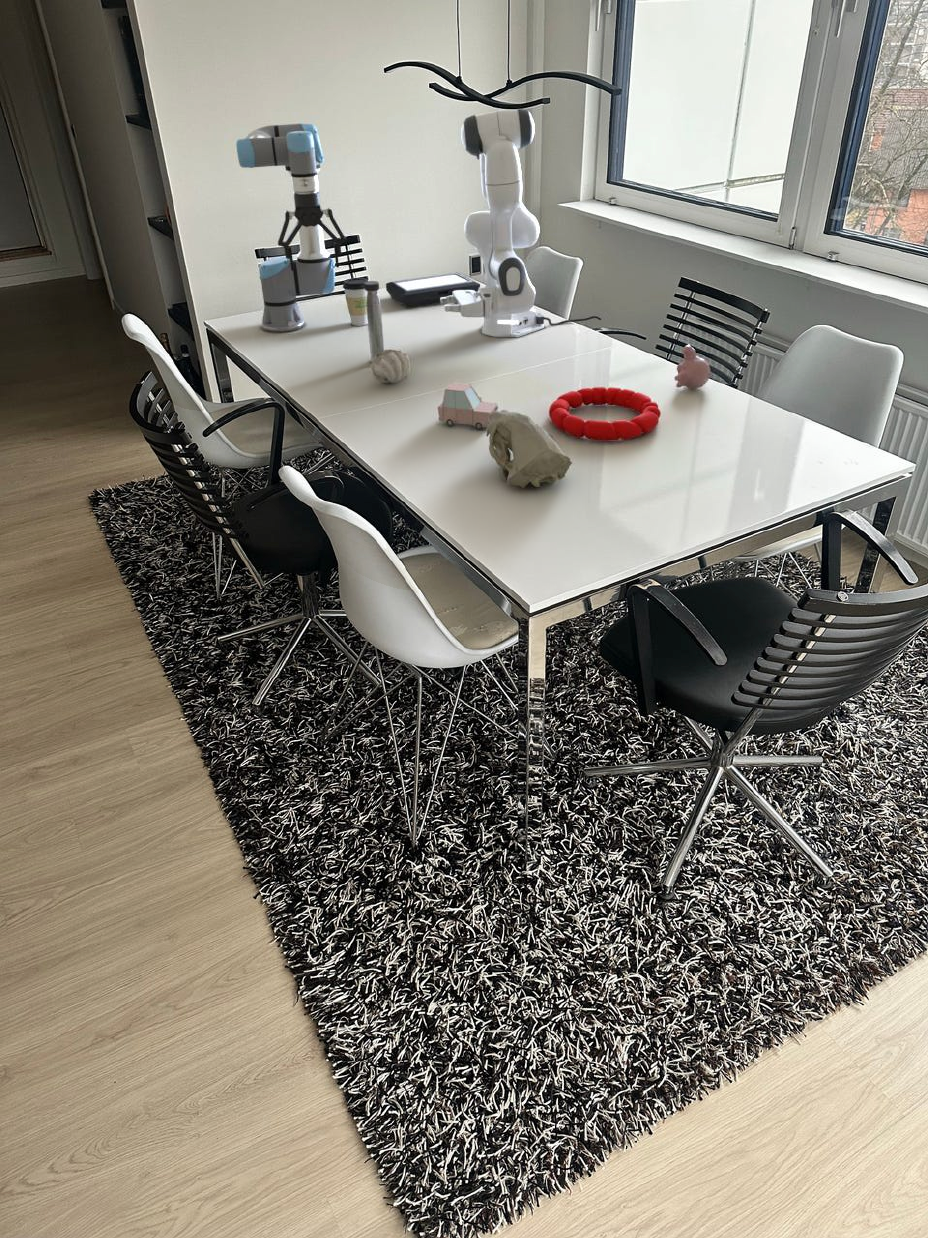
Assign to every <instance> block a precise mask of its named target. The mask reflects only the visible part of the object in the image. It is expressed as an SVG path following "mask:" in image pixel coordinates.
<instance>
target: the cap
mask: <svg viewBox="0 0 928 1238" xmlns="http://www.w3.org/2000/svg"><path fill="white" fill-rule="evenodd" d="M364 286H365V290H366V291H377V292H378V291H379V290H380V283H379V281H376V280H368V282H365V283H364Z"/></svg>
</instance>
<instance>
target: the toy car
mask: <svg viewBox="0 0 928 1238" xmlns="http://www.w3.org/2000/svg"><path fill="white" fill-rule="evenodd" d="M498 409H499V404H498V403H497V402H490V401H489V402H487V401H483V397H481V396H480V395H479V394H478V393H477V391H476V390H475V389H474V386H472V384H469V383H459V382H451V383H450V384H449V385H448V386H447V387H446V388H445V389H444V394H443V399H442V403H440V404H439V405H438V406H437V413H438V421H439V422H443V423H446V425H447V426H448V427H452V426H454V425H455V424H461V425H469V426H473V427H475V429H476V430H479V431H480V430H481V429H483V428H485V427H486V428H487V423H488V422H490V414H491V413H492V412H496V411H499V410H498Z"/></svg>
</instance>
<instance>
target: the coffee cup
mask: <svg viewBox="0 0 928 1238" xmlns="http://www.w3.org/2000/svg"><path fill="white" fill-rule="evenodd" d="M368 281H369V279H367V278H365V277H351V278H347V279H345V280H344V281H343V285H342V288H343V290H344V297H345V301H346V305H347V310H348V314H349V318H350V323H351V325H353V326H357V327H359V326H365V325H368V320H367V309H366V298H367V297H366V296H367V291H366V290H365V286H364V283H365V282H368Z"/></svg>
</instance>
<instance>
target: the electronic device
mask: <svg viewBox="0 0 928 1238" xmlns="http://www.w3.org/2000/svg"><path fill="white" fill-rule="evenodd" d="M479 287H481V284H480V283H479V282H477V281H475V280H473V279H471V278H470V277H467V276H466V275H464V274H462V273H460V272H452V273H445V274H437V275H430V276H422V277H416V278H409V279H402V280H395V281H389V282H386V283H385V290H386V292H387V293H388V295H389V296H390V298H391V299H393V300H395V301H396V302H397V303H400V305H402V306H404V307H405V308H406V309H409V308H415V307H423V306H428V305H437V304H441V302H440V298H441V297H447V296H450V295H452V292H453V291H456V290H474V291H475V292H478V289H479Z"/></svg>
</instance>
